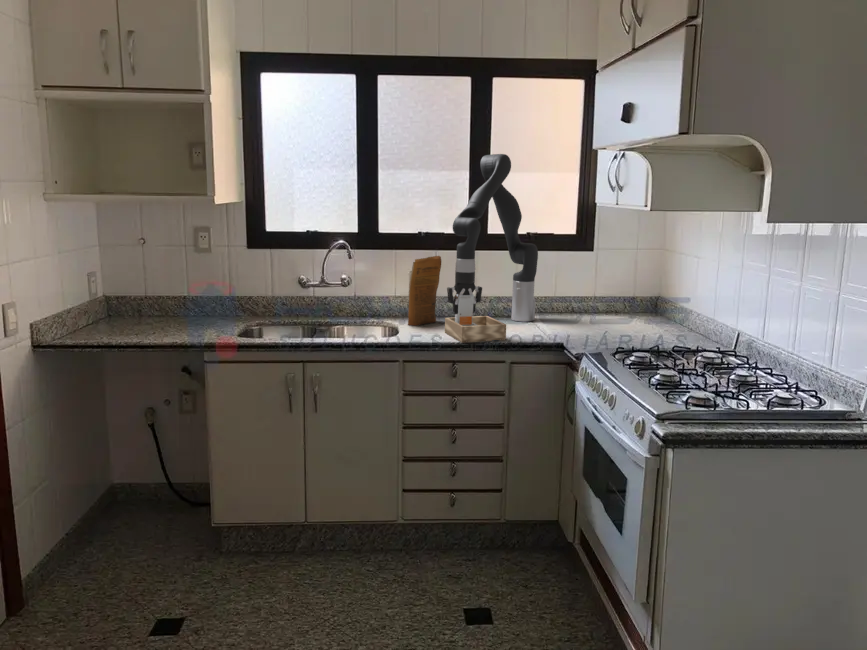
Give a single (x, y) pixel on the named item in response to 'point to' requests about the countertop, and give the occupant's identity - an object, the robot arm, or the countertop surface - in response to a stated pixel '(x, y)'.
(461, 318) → the skincare box
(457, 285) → the robot arm
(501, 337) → the box
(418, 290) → the pancake mix bag
